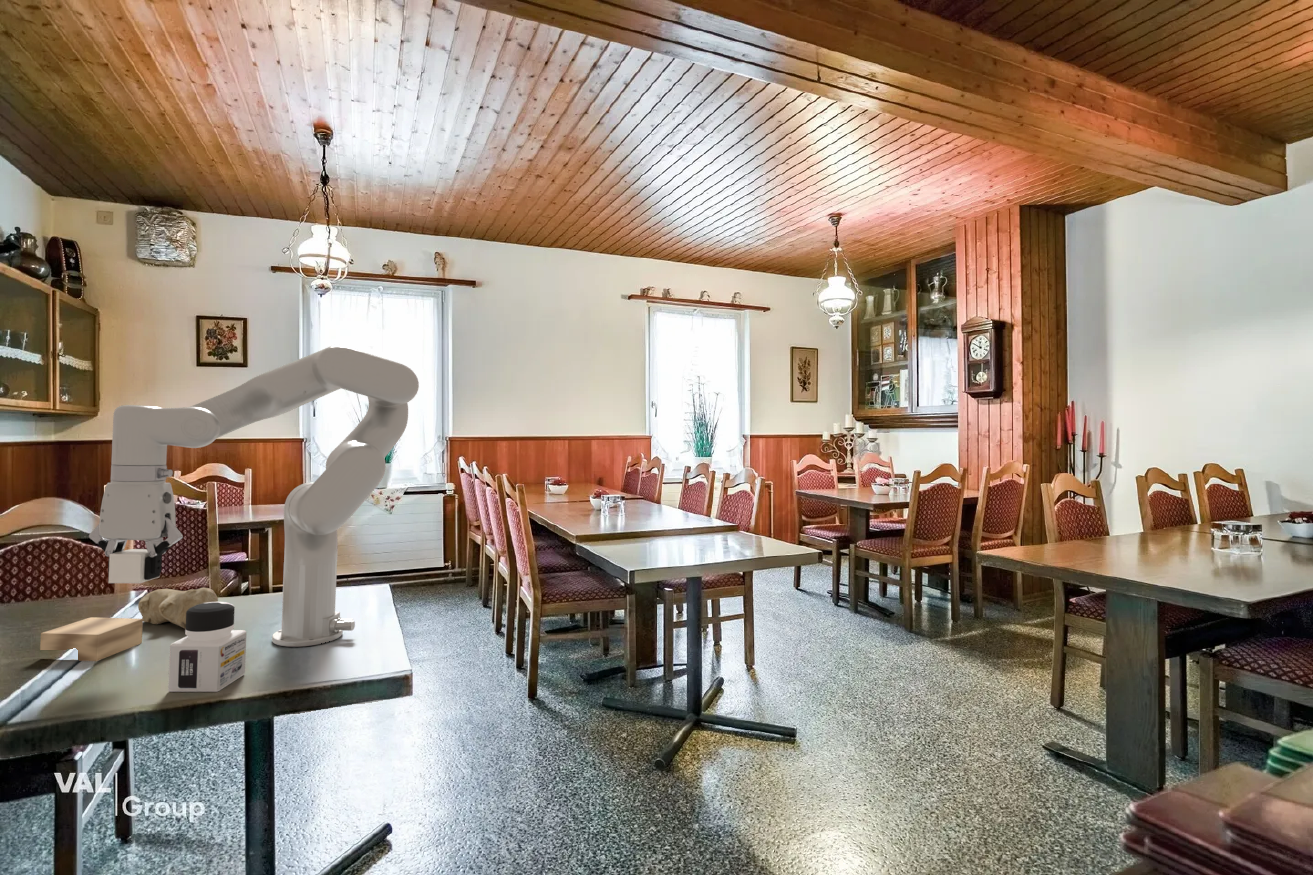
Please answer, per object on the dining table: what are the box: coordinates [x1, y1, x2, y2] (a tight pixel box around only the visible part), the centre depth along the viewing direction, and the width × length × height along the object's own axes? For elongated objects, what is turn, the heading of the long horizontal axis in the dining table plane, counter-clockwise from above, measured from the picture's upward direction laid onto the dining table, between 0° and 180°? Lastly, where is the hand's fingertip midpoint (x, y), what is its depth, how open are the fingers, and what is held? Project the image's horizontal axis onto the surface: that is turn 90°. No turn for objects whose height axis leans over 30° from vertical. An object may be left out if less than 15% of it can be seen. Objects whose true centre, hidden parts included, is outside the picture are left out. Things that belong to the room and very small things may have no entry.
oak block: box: [39, 616, 144, 662], centre depth 117 cm, size 10×10×5 cm
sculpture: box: [137, 587, 219, 630], centre depth 134 cm, size 9×17×10 cm
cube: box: [108, 548, 161, 584], centre depth 111 cm, size 5×5×5 cm
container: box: [167, 601, 248, 693], centre depth 104 cm, size 8×8×13 cm
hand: (134, 576), depth 111 cm, fingers closed on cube, 5 cm apart
